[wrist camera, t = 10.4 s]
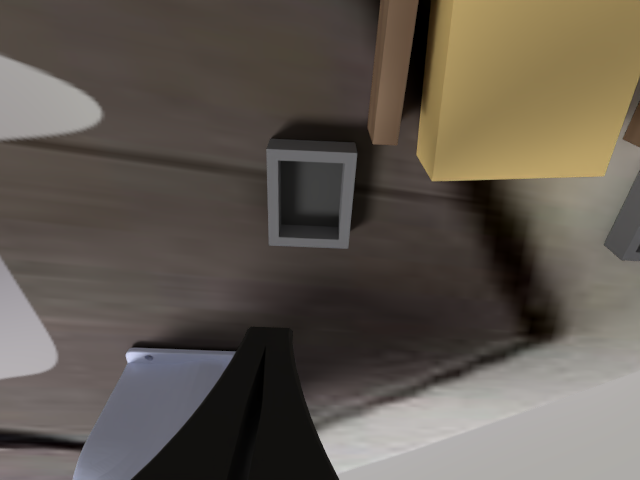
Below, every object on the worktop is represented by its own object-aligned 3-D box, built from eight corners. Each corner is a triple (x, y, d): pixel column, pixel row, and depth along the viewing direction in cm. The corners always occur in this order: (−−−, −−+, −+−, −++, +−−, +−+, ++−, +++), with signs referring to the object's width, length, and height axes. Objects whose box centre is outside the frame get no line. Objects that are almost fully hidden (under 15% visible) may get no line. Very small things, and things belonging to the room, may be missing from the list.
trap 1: (272, 230, 22) (268, 245, 20) (270, 138, 19) (266, 149, 18) (346, 233, 22) (348, 248, 20) (355, 142, 19) (357, 153, 18)
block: (415, 152, 20) (432, 181, 17) (431, -18, 16) (456, -21, 13) (561, 148, 19) (604, 176, 16) (610, -26, 16) (677, -30, 13)
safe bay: (367, 127, 19) (372, 144, 16) (391, -104, 14) (403, -122, 12) (643, 140, 19) (684, 158, 17) (748, -84, 15) (822, -98, 12)
